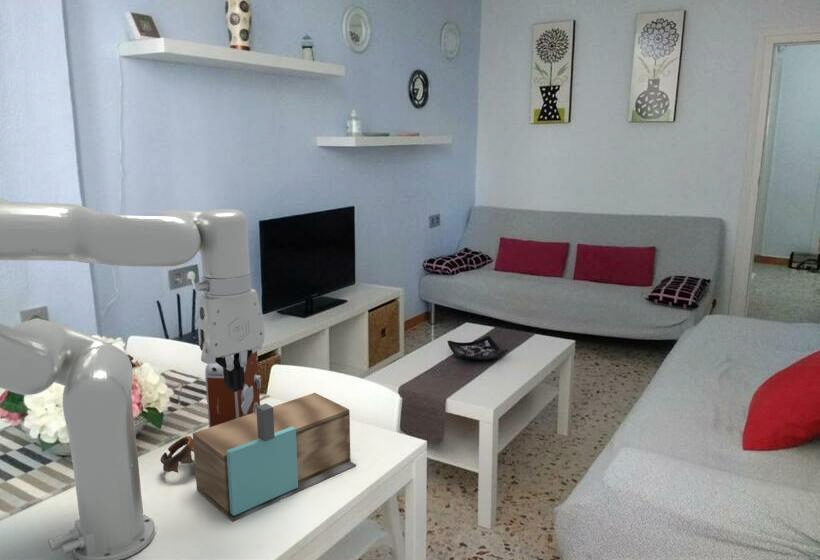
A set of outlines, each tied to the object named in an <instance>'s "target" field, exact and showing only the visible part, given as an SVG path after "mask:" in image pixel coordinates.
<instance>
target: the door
mask: <svg viewBox="0 0 820 560" xmlns="http://www.w3.org/2000/svg"><path fill="white" fill-rule="evenodd" d="M256 410H257V429H258V438H259V439H256V440H254V441H251V442H248V443H245V444H243V445H240V446H237V447H234V448H232V449H229V450H226V452H227V468H228V483H229V498H230V513H231V514H232V515H233V516H235V515H237V514H239V513H241V512H244V511H246V510H248V509H250V508H253V507H255V506H257V505H259V504H262V503H264V502H266V501H268V500H271V499H273V498H275V497H277V496H280V495H282V494H284V493H286V492H289V491H291V490H293V489H295V488H298V470H297V444H296V428H294V427H289V428H287V429H284V430H281V431H278V432H276V433H274V414H273V406H272V405H270V404H268V403H263V404H260V405H259V406H256Z"/></svg>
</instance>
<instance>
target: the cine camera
mask: <svg viewBox="0 0 820 560" xmlns="http://www.w3.org/2000/svg"><path fill="white" fill-rule="evenodd" d="M232 357H233V355H232ZM204 372H205V387H206V389H205V390H206V404H207V418H208V419H207V421H208V428H209V427H212V426H215V425H219V424H222V423H225V422H228V421H231V420H234V419H237V418H240V417H243V416H246V415H249V414H252V413H255V412H257V410H256V406H259V405H261V399H260V398H261V397H260V396H261V395H260V390H261V388H262V385H261V383H262V376H261V375H259V356H258V351H256V352H254V353H252V354H251V356H250V357H249V359H248V360H247V364H246V366H245V367H244V379H245V381H244V383H243V385H244V389H243V390H238V391H237V392H233V391H232V390H230V389H228V388H227V387H226V386H225V384H224V373H223V367H221V366H220V365H219V364H217V363H215V364H206V366H205V371H204Z"/></svg>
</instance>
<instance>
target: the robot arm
mask: <svg viewBox="0 0 820 560" xmlns="http://www.w3.org/2000/svg"><path fill="white" fill-rule="evenodd" d="M249 251H250V249H249V235H248V221H247V216H246V214H245V213H244V211H241V210H239V209H234V208H221V209H220V208H219V209H217V208H216V209H210V210H206V211H199V210H185V209H166V210H162V211H160V212H159V213H157V214H156V215H154V216H153V215H133V214H132V215H130V214H117V213H109V212H102V211H98V210H95V209H92V208H89V207H87V206H84V205H79V204H76V203H75V204H74V203H57V202H56V203H54V202H52V203H50V202H24V201H23V202H20V201H18V202H17V201H9V200H6V199H4V198H1V197H0V261H52V262H53V261H54V262H55V261H64V262H76V263H77V262H79V263H83V264H84V263H85V264H96V265H97V264H99V265H106V266H107V265H109V266H116V267H117V266H118V267H119V266H120V267H176V266H180V265H181V266H182V265H184V264H187V263H189V262H190V261H191V260H193V259H194V258H195V257H196V255H197V254H198V252H199V253H200V255H201V256H200V258H201V269H202V276H201V281H200V282H196V283H195V290H196V291H197V292H203V294H200V299H199V305H198V323H197V324H198V328H197V329H198V332H197V333H198V334H197V335H198V345H199V350H201V351H200V352H201V357H200V360H201V362H202V363H204V364H206V365H207V364H215V363H217V364H219V365H220V366H221V367H223V373H224V384H225V386H226V387H227V388H228V389H230V390H232V391H233V392H237V391H238V390H243V389H244V385H243V383H244V381H245V379H244V367H245V366H246V364H247V360H248V359H249V357H250V356H251V354H252V353H254V352H256V351H257V352H258V351H260V350H262V348H263V345H264V343H265V327H264V320H263V313H262V308H261V304H260V300H259V295H258V293H257V290H256V289H254V288H252V284H251V283H252V282H251V267H250V266H251V265H250V252H249ZM232 355H233V357H232ZM54 383H55V384H59V385H61V386H64V388H63V392H62V411H63V416H64V420H65V426H66V429H67V434H68V439H69V440H68V441H69V447H70V454H71V455H70V456H71V461H72V463H71V464H72V468H73V477H74V478H73V479H74V484H75V485H74V486H75V492H76V494H75V495H76V499H77V500H76V501H77V507H78V510H77V511H78V518H79V519H76V520H75V521H74V528H71V529H70V528H69V530H68V531H69V532H66V533H63V534H60V535H58V536H55V537H51V538H49V539H48V540H47V543H48V548H49V550H50V552H55V551H57V550H59V549H61V550H62V551H61V552H62V553H63V555H65V554H67V553H70V552H72V553H73V555H74V557H75V558H76V559H78V560H123V559H127V558H128V557H131V556H133V555H135V554H137V553H139V552H140V551H142V550H143V549H144V548H145V547H147V546H148V545H149V543H151V542H152V540H153V539H154V536H155V534H156V528H155V527H156V526H155V522H154V520H153V519H152V518H151V517H149V516H147V515H146V514H144V507H143V500H142V499H143V498H142V488H141V476H140V469H139V468H140V467H139V457H138V448H137V437H136V436H137V435H136V429H135V428H136V427H135V421H134V411H133V399H132V398H133V397H132V388H133V387H132V386H133V365H132V363H131V360H130V358H129V357H128V355H127V354H126V353H125V352H124V350H122V349H120V348H119V347H117V346H115V345H113V344H111V343H109V342H106V341H104V340H101V339H99V338H97V337H94V336H91V335H88V334H86V333H84V332H81V331H79V330H76V329H74V328H70V327H68V326H66V325H65V324H64V325H63V324H62V323H59V322H55V321H50V320H45V319H30V320H25V321H21V322H20V323H18V324H16V325H14V326H13V327H11V326H8V325H4V324H2V323H0V389H3V390H6V391H8V392H11V393H14V394H18V395H22V396H29V395H30V396H32V395H38V394H40V393H43V392H44V391H46V390H48V389H49V388H50V387H52V385H53V384H54Z"/></svg>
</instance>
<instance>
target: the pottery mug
mask: <svg viewBox="0 0 820 560" xmlns="http://www.w3.org/2000/svg"><path fill="white" fill-rule="evenodd" d="M181 448H182V449H181ZM167 450H168V451H169V453H168V454H167V452H164V453H163V454H162V455H161V457H160V460H159V461H160V463H161V464H162V465H163V466H162V467H163V472H164V473H170V472H174V473H176V474H177V473H179V463H180V464H187V465H191V464H194V463H195V460H193V458H192V453H194V446H193V436H190V435H186V436H183V437H181V438H180V439H178V440H176V441H175V442H174V443H172V444H171V445H170V446H169V447H168V448H167ZM178 450H179V452H177V451H178ZM176 452H177V453H176ZM175 453H176V454H175ZM174 454H175V455H174Z"/></svg>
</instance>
